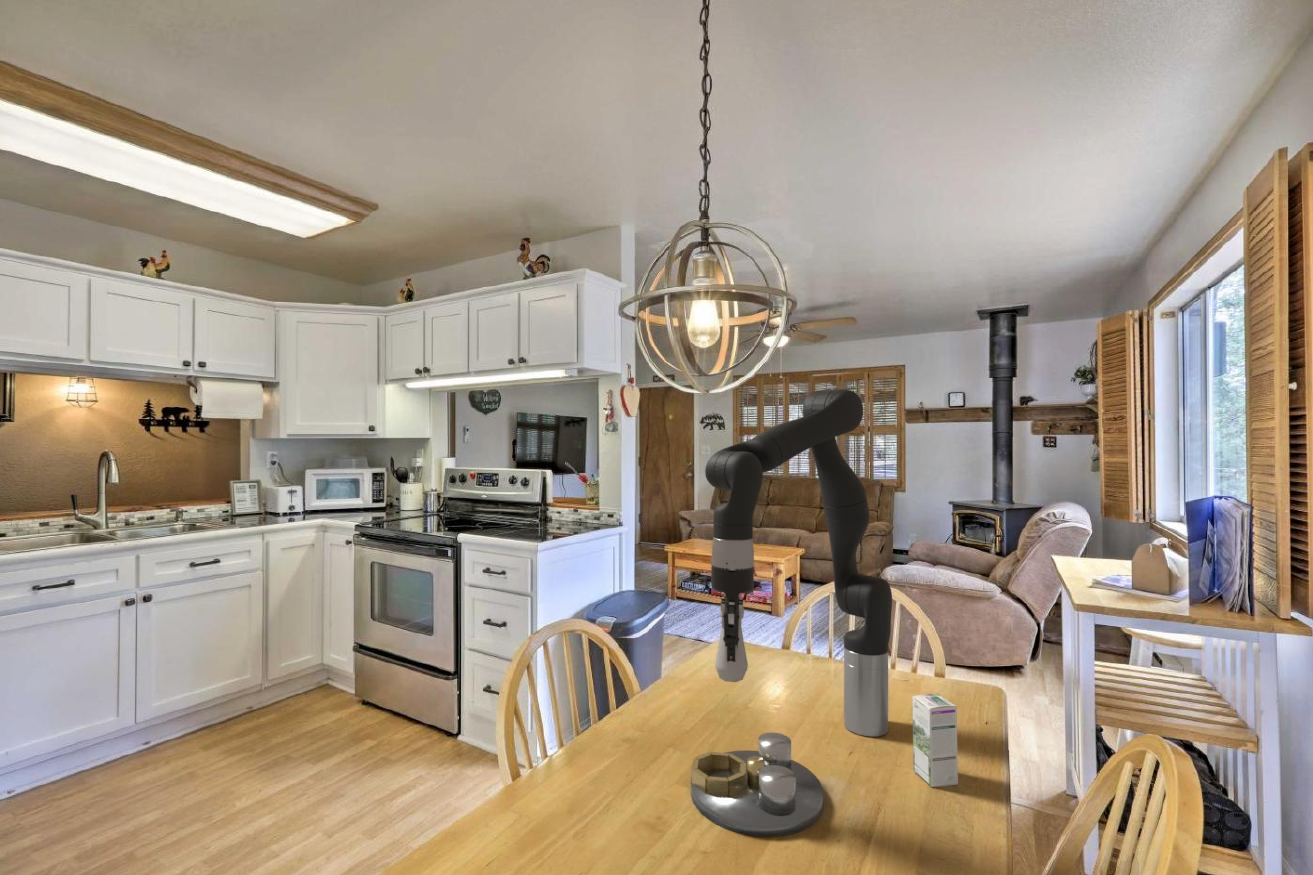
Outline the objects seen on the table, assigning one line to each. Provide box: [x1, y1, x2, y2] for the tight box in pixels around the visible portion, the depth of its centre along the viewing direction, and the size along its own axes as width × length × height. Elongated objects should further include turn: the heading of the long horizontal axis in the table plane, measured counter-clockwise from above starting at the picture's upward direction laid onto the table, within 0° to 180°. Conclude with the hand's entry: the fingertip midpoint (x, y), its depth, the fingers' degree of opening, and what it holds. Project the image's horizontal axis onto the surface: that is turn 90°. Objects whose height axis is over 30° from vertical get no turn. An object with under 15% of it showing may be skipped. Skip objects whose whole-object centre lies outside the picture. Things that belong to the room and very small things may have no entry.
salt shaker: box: [714, 606, 749, 683], centre depth 107 cm, size 6×6×13 cm
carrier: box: [690, 732, 824, 838], centre depth 107 cm, size 23×23×7 cm
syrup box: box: [912, 693, 959, 788], centre depth 112 cm, size 6×6×14 cm
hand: (731, 659), depth 107 cm, fingers closed on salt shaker, 3 cm apart
